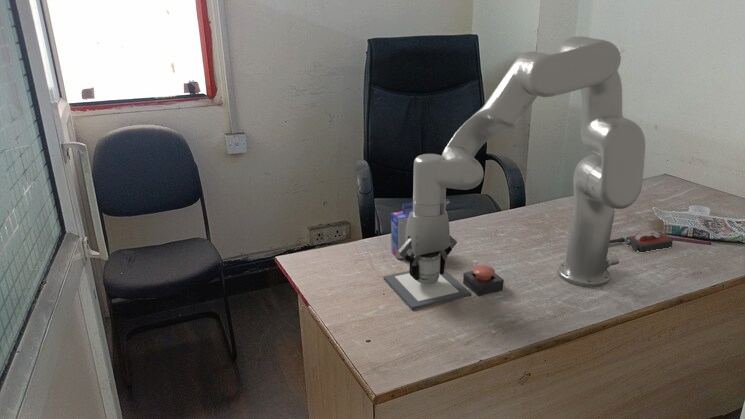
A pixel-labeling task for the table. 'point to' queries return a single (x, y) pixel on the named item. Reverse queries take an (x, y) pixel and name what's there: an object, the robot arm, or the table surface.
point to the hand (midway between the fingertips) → (427, 274)
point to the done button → (483, 273)
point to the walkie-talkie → (645, 241)
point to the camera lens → (429, 268)
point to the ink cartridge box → (399, 229)
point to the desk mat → (426, 290)
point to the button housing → (483, 284)
